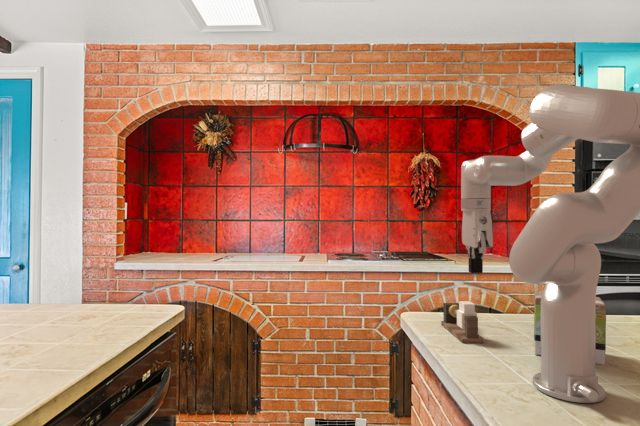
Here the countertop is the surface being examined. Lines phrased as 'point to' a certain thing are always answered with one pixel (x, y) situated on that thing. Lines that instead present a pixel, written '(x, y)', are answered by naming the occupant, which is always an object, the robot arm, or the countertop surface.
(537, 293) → the tea box
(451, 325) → the rail
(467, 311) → the sleeve
